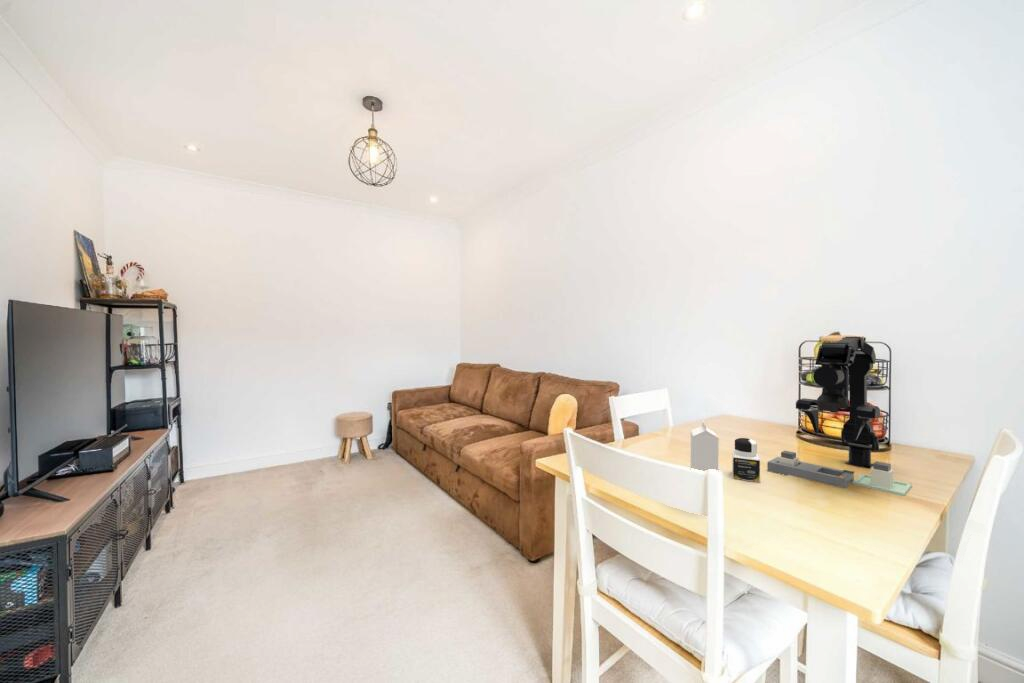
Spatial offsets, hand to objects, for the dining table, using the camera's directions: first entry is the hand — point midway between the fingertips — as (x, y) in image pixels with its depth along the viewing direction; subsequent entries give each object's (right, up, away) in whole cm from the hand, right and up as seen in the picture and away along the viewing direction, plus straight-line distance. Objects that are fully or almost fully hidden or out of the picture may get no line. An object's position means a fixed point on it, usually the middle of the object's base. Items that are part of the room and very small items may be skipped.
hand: (835, 436), depth 117 cm
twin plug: (-6, -15, +12) cm, 19 cm away
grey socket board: (-3, -14, +7) cm, 16 cm away
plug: (+12, -14, -2) cm, 19 cm away
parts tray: (+12, -15, -2) cm, 19 cm away
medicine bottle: (-23, -15, +7) cm, 28 cm away
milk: (-45, -15, -12) cm, 49 cm away
